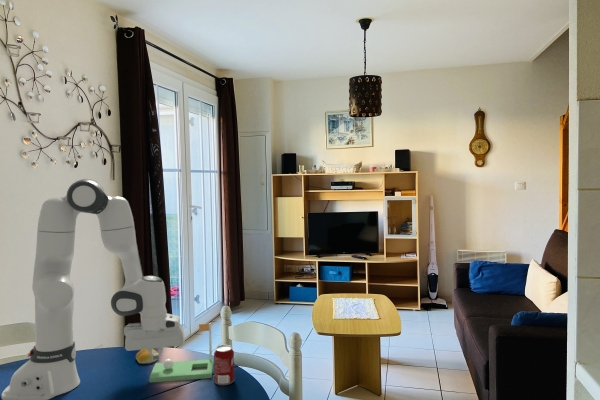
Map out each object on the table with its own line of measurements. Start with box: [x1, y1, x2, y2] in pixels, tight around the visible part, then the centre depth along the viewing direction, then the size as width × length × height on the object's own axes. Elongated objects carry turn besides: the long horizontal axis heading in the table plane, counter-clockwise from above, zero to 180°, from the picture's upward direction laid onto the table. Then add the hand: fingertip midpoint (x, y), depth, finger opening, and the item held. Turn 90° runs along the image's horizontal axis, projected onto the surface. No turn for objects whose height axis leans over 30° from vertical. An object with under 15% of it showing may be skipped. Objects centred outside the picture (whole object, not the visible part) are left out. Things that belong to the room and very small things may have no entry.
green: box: [148, 322, 214, 383], centre depth 155 cm, size 21×12×16 cm, turn 99°
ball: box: [162, 358, 174, 370], centre depth 155 cm, size 4×4×4 cm
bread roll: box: [135, 348, 159, 365], centre depth 167 cm, size 8×9×4 cm
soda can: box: [213, 344, 235, 387], centre depth 148 cm, size 7×7×12 cm
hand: (156, 359), depth 155 cm, fingers closed
